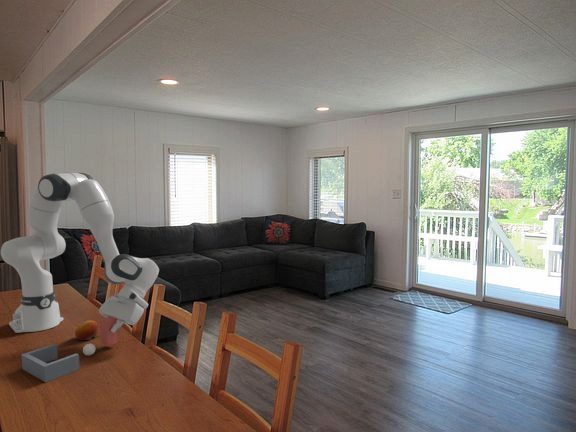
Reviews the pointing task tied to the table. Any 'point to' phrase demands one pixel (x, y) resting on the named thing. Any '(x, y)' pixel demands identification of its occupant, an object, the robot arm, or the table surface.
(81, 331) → the fruit
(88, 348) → the ball
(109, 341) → the red tall block
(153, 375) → the table surface
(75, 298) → the table surface
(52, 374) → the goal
